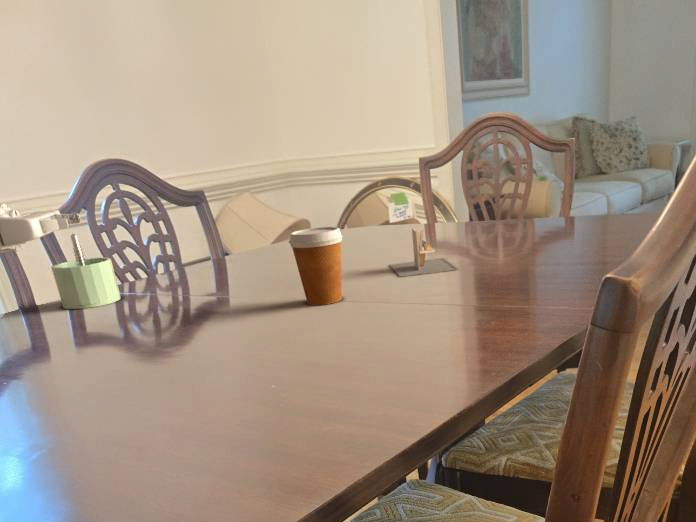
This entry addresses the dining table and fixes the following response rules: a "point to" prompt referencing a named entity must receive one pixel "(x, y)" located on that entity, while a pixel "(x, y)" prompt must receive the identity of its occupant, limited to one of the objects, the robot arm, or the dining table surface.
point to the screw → (78, 251)
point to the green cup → (86, 283)
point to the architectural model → (421, 259)
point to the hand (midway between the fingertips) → (73, 220)
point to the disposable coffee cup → (319, 263)
